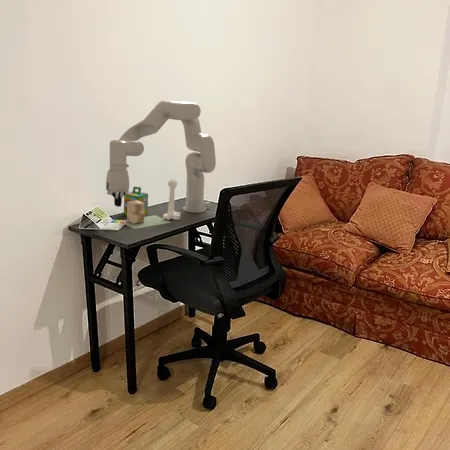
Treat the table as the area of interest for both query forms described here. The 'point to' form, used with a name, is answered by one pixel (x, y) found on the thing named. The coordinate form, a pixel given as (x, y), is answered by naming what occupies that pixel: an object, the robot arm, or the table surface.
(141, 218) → the maple block
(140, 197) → the chalk box
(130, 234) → the table surface
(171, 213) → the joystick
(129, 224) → the mat
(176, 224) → the table surface
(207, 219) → the table surface
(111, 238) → the table surface
